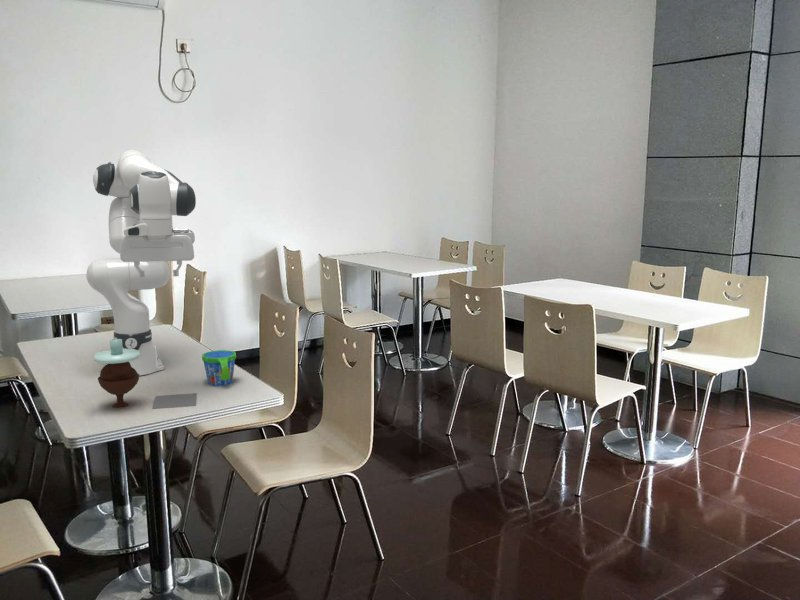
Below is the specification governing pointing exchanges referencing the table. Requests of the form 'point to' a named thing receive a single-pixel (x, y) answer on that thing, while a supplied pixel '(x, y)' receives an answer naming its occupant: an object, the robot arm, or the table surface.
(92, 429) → the table surface
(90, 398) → the table surface
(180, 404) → the mat
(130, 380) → the ice cream bowl
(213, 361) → the snack cup
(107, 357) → the lid
